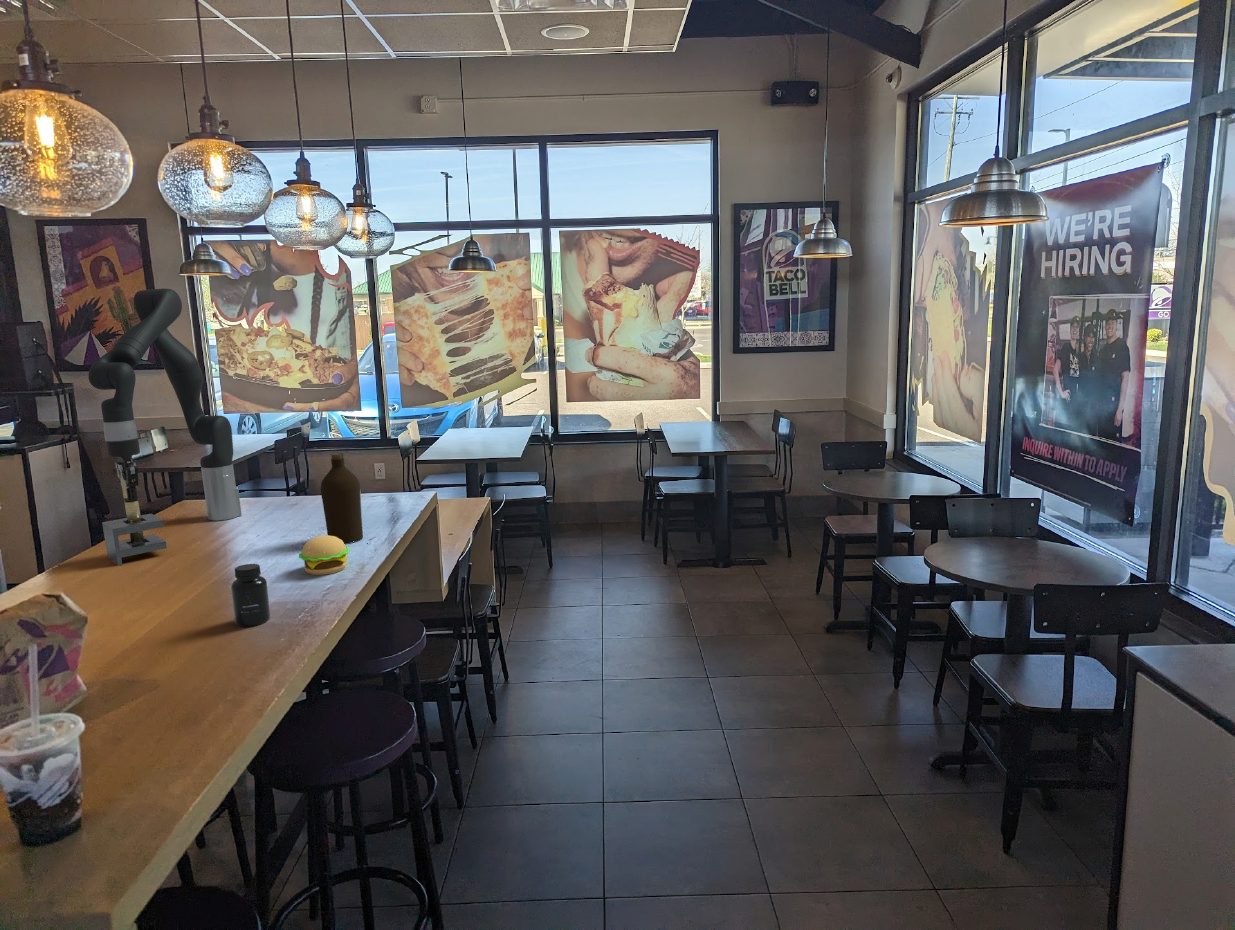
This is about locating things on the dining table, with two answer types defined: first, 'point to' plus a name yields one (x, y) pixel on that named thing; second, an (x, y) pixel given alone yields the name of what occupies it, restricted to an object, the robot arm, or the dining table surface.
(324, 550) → the hamburger
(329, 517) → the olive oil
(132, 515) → the brass tube
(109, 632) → the dining table surface
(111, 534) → the collar stand
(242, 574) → the supplement bottle
